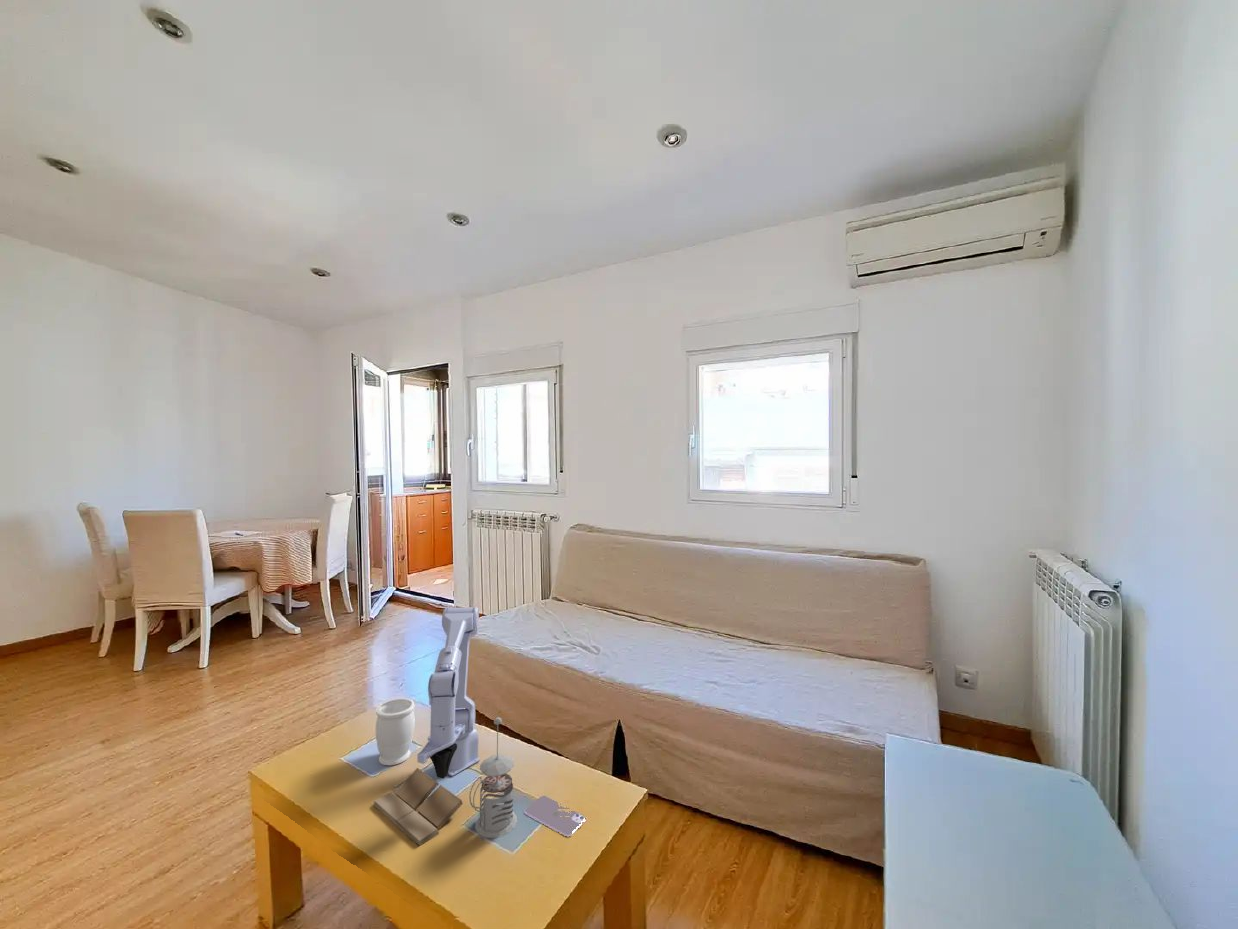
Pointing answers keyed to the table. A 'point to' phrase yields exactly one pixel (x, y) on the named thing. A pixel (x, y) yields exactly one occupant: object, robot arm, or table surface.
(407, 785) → the plank
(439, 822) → the plank
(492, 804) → the french press
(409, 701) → the jar
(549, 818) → the mobile phone
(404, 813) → the laid board
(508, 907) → the table surface
